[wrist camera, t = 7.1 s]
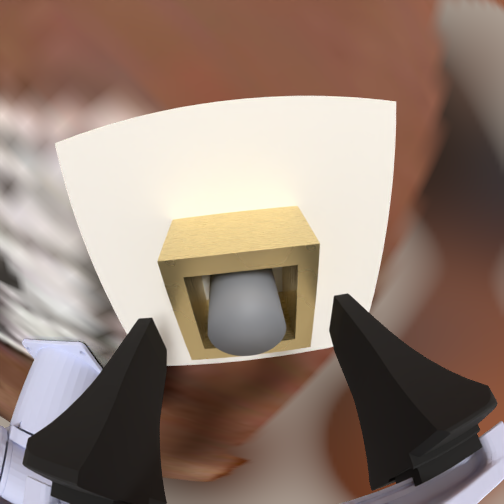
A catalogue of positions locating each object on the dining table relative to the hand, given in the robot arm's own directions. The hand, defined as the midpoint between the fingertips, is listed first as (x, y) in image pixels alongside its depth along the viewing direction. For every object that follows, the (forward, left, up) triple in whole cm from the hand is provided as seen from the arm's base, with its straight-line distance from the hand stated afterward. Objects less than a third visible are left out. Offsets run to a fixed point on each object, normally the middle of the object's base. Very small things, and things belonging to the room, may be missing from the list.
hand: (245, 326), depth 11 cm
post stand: (0, 0, -5) cm, 5 cm away
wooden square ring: (0, 0, -4) cm, 4 cm away
